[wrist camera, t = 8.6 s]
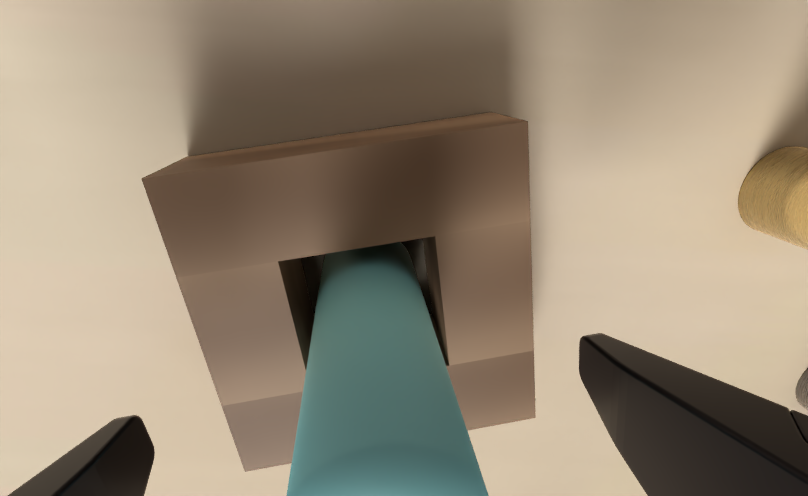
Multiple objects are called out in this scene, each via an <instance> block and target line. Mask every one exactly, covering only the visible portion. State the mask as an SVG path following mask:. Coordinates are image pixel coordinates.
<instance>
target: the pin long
mask: <svg viewBox="0 0 808 496" xmlns="http://www.w3.org/2000/svg"><path fill="white" fill-rule="evenodd" d="M287 496H488V493H487V490H486V487H485V484H484V481H483V477H482V474H481V471H480V468H479V465H478V462H477V459H476V456H475V453H474V450H473V447H472V444H471V441H470V438H469V435H468V432H467V428H466V425H465V422H464V419H463V416H462V413H461V410H460V407H459V404H458V401H457V398H456V395H455V392H454V389H453V386H452V383H451V380H450V376H449V373H448V370H447V367H446V364H445V361H444V358H443V355H442V352H441V349H440V346H439V343H438V340H437V337H436V334H435V331H434V328H433V324H432V321H431V318H430V315H429V312H428V309H427V306H426V303H425V300H424V297H423V294H422V291H421V288H420V285H419V282H418V279H417V276H416V272H415V269H414V266H413V263H412V260H411V257H410V255H409V253H408V251H407V249H406V248H405V246H404V245H403V244H402V243H401V242H396V243H390V244H383V245H377V246H371V247H365V248H358V249H352V250H346V251H340V252H334V253H327V254H326V256H325V258H324V261H323V266H322V272H321V279H320V285H319V292H318V298H317V305H316V311H315V317H314V324H313V330H312V337H311V343H310V349H309V356H308V362H307V369H306V375H305V381H304V388H303V394H302V401H301V407H300V413H299V420H298V426H297V433H296V439H295V445H294V452H293V458H292V465H291V471H290V477H289V484H288V490H287Z"/></svg>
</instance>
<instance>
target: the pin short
mask: <svg viewBox="0 0 808 496" xmlns="http://www.w3.org/2000/svg"><path fill="white" fill-rule="evenodd" d="M796 398H797V401H798V402H799V404H800V405H801V406H803V407H804V408H806V409H807V410H808V368H807V370H806V371H805V372H804V373H803V374H802V376H801V378H800V379H799V381H798V384H797V387H796Z"/></svg>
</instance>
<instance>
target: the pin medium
mask: <svg viewBox="0 0 808 496" xmlns="http://www.w3.org/2000/svg"><path fill="white" fill-rule="evenodd" d="M738 208H739V213H740V215H741V218H742V219H743V221H744V222H745V223H746V224H747V225H748V226H749V227H751V228H752V229H755V230H757V231H760V232H763V233H765V234H768V235H771V236H773V237H776V238H779V239H781V240H784V241H786V242H789V243H792V244H794V245H797V246H800V247H802V248H805V249H808V148H805V147H798V146H790V147H784V148H781V149H778V150H776V151H774V152H771V153H770V154H768V155H767V156H765V157H764V158H763V159H761V160H760V161H759V162H758V163H757V164H756V165H755V166H754V167H753V168H752V169H751V171H750V172H749V173H748V175H747V177H746V178H745V180H744V182H743V184H742V187H741V190H740V193H739V200H738Z"/></svg>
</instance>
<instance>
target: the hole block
mask: <svg viewBox="0 0 808 496" xmlns="http://www.w3.org/2000/svg"><path fill="white" fill-rule="evenodd" d="M142 181H143V184H144V187H145V190H146V193H147V196H148V198H149V201H150V204H151V207H152V210H153V213H154V215H155V218H156V221H157V224H158V227H159V230H160V232H161V235H162V238H163V241H164V244H165V247H166V249H167V252H168V255H169V258H170V261H171V264H172V266H173V269H174V272H175V275H176V278H177V281H178V283H179V286H180V289H181V292H182V295H183V298H184V300H185V303H186V306H187V309H188V312H189V315H190V317H191V320H192V323H193V326H194V329H195V332H196V334H197V337H198V340H199V343H200V346H201V349H202V351H203V354H204V357H205V360H206V363H207V366H208V368H209V371H210V374H211V377H212V380H213V383H214V385H215V388H216V391H217V394H218V397H219V400H220V402H221V405H222V408H223V411H224V414H225V417H226V419H227V422H228V425H229V428H230V431H231V434H232V436H233V439H234V442H235V445H236V448H237V451H238V453H239V456H240V459H241V462H242V465H243V468H244V470H245V472H246V471H251V470H257V469H262V468H268V467H273V466H278V465H284V464H289V463H292V458H293V452H294V445H295V439H296V433H297V426H298V420H299V413H300V407H301V401H302V394H303V388H304V381H305V375H306V369H307V362H308V356H309V349H310V343H311V337H312V330H313V324H314V313H313V309H312V305H311V301H310V296H309V292H308V288H307V284H306V279H305V275H304V271H303V266H302V262H301V258H303V257H309V256H315V255H321V254H327V253H334V252H340V251H346V250H352V249H358V248H365V247H371V246H377V245H383V244H390V243H396V242H402V241H408V240H414V239H421V238H423V244H424V252H425V261H426V269H427V277H428V285H429V293H430V302H431V310H432V314H430V318H431V321H432V324H433V328H434V331H435V334H436V337H437V340H438V343H439V346H440V349H441V352H442V355H443V358H444V361H445V364H446V367H447V370H448V373H449V376H450V380H451V383H452V386H453V389H454V392H455V395H456V398H457V401H458V404H459V407H460V410H461V413H462V416H463V419H464V422H465V425H466V428H467V430H472V429H477V428H483V427H488V426H494V425H499V424H504V423H510V422H515V421H520V420H526V419H531V418H535V381H534V343H533V304H532V265H531V227H530V188H529V149H528V121H524V120H520V119H516V118H512V117H508V116H504V115H500V114H496V113H493V112H489V113H482V114H475V115H468V116H461V117H454V118H448V119H441V120H434V121H427V122H420V123H414V124H407V125H400V126H393V127H386V128H379V129H373V130H366V131H359V132H352V133H345V134H339V135H332V136H325V137H318V138H311V139H304V140H298V141H291V142H284V143H277V144H270V145H263V146H257V147H250V148H243V149H236V150H229V151H223V152H216V153H209V154H202V155H195V156H188V157H185V158H183V159H181V160H179V161H177V162H175V163H173V164H171V165H169V166H167V167H165V168H163V169H161V170H159V171H156V172H154V173H152V174H150V175H148V176H146V177H144V178H142Z"/></svg>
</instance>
